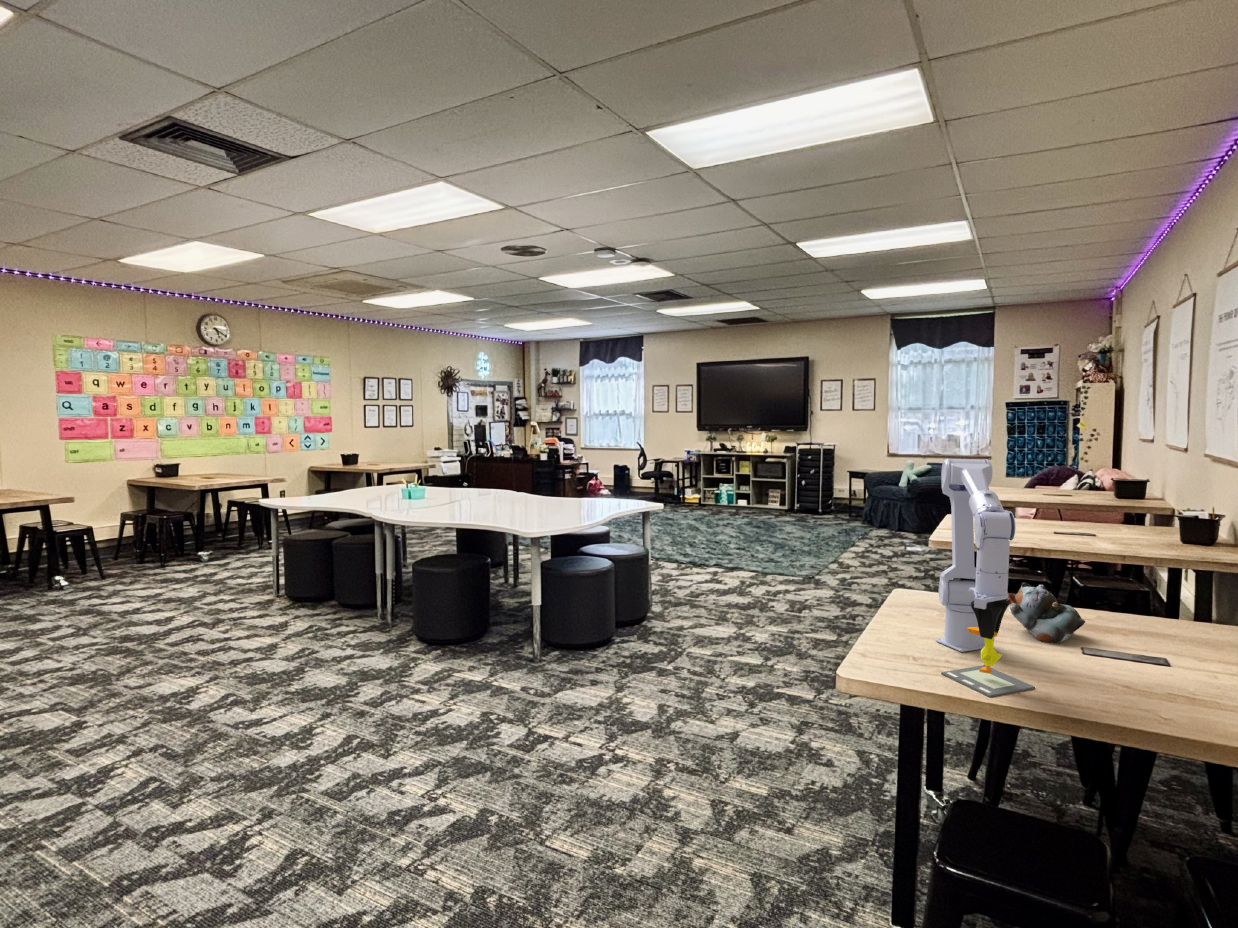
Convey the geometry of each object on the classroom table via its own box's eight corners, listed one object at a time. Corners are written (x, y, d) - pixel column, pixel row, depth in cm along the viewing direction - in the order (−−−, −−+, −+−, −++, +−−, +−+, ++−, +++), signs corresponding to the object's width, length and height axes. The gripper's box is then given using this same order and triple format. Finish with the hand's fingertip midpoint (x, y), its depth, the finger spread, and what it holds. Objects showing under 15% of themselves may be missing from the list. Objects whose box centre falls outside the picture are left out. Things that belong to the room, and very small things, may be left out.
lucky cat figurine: (1057, 648, 156) (1025, 592, 159) (1016, 651, 167) (987, 599, 170) (1097, 622, 162) (1066, 568, 164) (1054, 626, 173) (1026, 576, 175)
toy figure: (964, 669, 139) (964, 612, 138) (970, 665, 141) (970, 609, 141) (1000, 677, 134) (1000, 618, 133) (1005, 672, 137) (1006, 615, 136)
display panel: (984, 666, 145) (984, 664, 145) (1035, 688, 134) (1035, 686, 134) (941, 673, 141) (941, 671, 141) (989, 697, 130) (989, 694, 130)
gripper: (981, 561, 144) (978, 623, 145) (958, 573, 133) (956, 639, 134) (1018, 566, 139) (1015, 630, 140) (998, 579, 128) (994, 648, 130)
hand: (989, 635), depth 137 cm, fingers closed on toy figure, 3 cm apart
